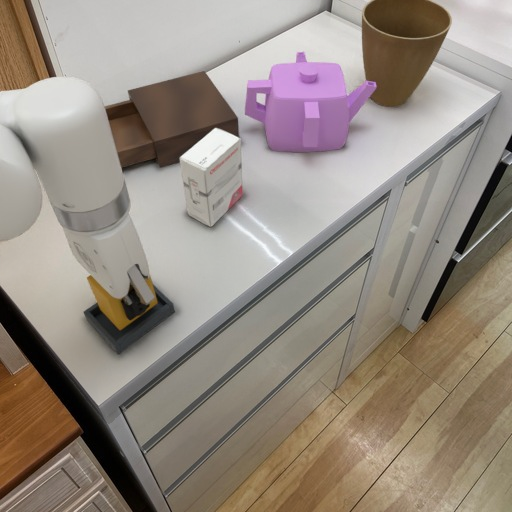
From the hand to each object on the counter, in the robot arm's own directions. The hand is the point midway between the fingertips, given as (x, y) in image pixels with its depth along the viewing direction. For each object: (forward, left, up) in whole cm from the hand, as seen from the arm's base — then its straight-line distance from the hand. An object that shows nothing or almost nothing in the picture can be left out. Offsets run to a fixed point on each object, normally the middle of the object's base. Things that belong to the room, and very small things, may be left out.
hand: (126, 299), depth 68 cm
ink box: (+18, +14, -4) cm, 23 cm away
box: (0, 0, -2) cm, 2 cm away
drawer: (+7, +34, -3) cm, 35 cm away
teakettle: (+40, +25, -4) cm, 47 cm away
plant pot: (+59, +27, -4) cm, 65 cm away
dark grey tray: (0, 0, -4) cm, 4 cm away
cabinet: (+20, +34, -4) cm, 40 cm away
